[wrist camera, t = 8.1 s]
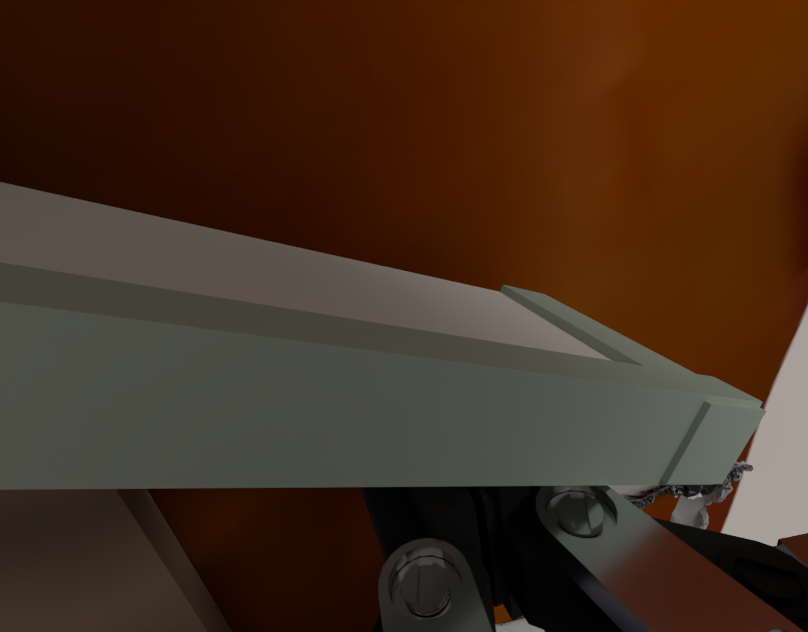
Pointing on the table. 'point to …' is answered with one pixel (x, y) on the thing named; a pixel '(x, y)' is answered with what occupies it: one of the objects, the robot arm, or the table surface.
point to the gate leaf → (316, 370)
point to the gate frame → (96, 565)
